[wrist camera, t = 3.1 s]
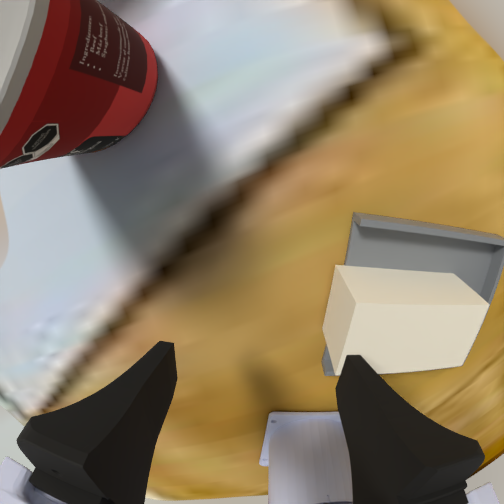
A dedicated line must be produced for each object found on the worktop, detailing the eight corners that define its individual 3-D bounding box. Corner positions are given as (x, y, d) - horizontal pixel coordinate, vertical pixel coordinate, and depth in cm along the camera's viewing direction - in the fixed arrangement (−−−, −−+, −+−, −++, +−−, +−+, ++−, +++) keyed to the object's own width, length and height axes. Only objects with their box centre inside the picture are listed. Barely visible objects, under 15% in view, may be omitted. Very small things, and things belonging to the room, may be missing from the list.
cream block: (322, 328, 19) (434, 328, 19) (335, 375, 14) (461, 365, 14) (335, 264, 17) (453, 273, 17) (356, 302, 13) (489, 304, 13)
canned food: (40, 129, 15) (-93, 146, 5) (91, 21, 12) (-26, -33, 2) (123, 173, 16) (-24, 224, 6) (187, 51, 13) (87, -50, 3)
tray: (454, 355, 20) (462, 365, 19) (321, 361, 20) (324, 375, 19) (498, 234, 16) (510, 241, 15) (353, 212, 16) (361, 218, 15)
